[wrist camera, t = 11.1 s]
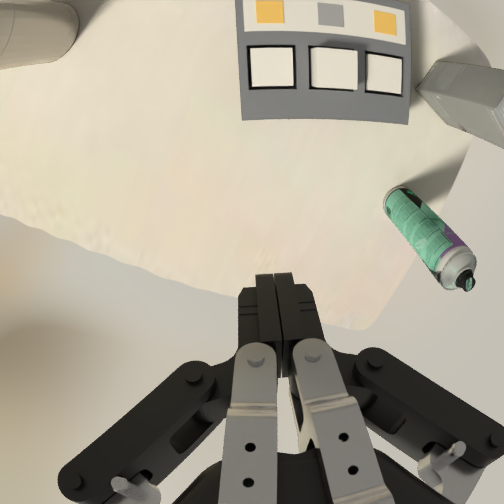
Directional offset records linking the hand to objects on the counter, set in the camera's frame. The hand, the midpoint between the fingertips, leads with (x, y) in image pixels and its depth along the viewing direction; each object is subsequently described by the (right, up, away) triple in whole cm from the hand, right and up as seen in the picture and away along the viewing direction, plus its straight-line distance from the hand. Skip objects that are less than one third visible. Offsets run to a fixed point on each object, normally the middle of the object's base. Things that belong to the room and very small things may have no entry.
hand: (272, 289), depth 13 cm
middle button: (+8, +22, +16) cm, 28 cm away
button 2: (+1, +23, +17) cm, 29 cm away
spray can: (+21, +9, +30) cm, 38 cm away
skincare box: (+27, +25, +20) cm, 41 cm away
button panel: (+8, +26, +18) cm, 32 cm away
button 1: (+14, +23, +17) cm, 32 cm away
